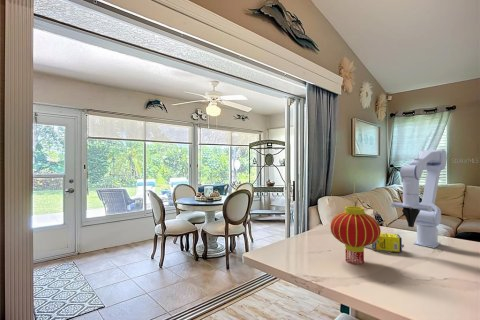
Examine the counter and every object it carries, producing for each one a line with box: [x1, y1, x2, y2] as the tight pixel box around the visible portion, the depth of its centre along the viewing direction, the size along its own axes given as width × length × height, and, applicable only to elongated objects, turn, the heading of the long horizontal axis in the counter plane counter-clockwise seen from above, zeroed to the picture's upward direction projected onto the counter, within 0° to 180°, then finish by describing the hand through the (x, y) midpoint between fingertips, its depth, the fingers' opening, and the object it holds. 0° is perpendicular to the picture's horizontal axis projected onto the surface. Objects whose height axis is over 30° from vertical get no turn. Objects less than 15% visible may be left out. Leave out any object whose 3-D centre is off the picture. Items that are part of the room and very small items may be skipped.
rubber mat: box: [364, 244, 405, 255], centre depth 118 cm, size 16×15×1 cm
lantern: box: [329, 180, 382, 266], centre depth 99 cm, size 17×17×30 cm
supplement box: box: [371, 232, 403, 253], centre depth 112 cm, size 6×6×11 cm
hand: (411, 226), depth 110 cm, fingers closed
